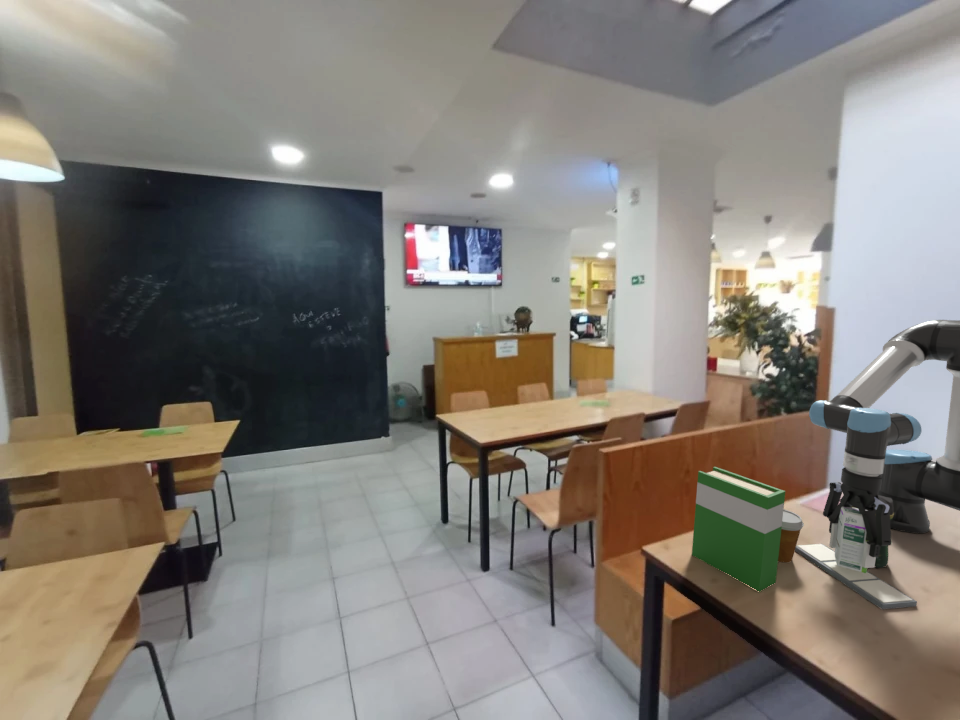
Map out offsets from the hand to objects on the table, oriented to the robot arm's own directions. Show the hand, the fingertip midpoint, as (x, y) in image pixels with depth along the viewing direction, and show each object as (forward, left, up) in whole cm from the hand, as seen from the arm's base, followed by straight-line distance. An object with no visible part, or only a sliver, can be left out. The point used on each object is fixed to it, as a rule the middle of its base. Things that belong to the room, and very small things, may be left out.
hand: (850, 556), depth 109 cm
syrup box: (0, 0, -2) cm, 2 cm away
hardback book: (+28, -6, -5) cm, 29 cm away
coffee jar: (-11, -6, -5) cm, 14 cm away
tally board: (0, 0, -5) cm, 5 cm away
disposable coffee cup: (+11, -10, -5) cm, 16 cm away
